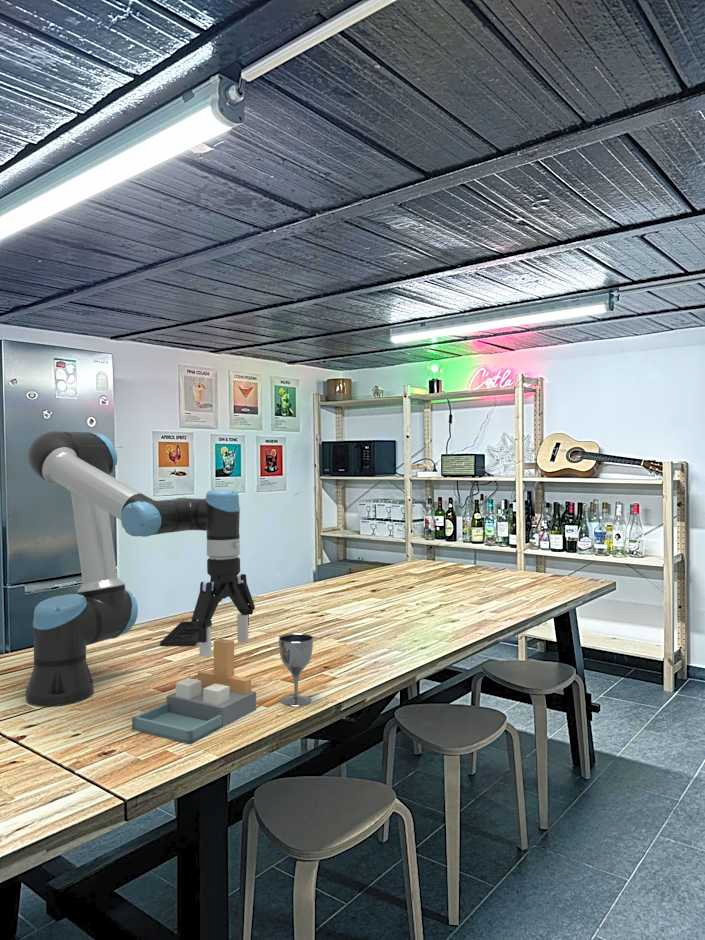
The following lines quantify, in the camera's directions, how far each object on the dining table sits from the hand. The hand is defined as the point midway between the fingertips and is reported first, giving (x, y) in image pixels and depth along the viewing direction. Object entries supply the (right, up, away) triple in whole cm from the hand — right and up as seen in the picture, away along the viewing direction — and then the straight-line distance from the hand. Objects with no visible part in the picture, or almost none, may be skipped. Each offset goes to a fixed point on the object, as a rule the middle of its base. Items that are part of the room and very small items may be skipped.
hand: (224, 648), depth 161 cm
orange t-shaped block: (0, -9, 0) cm, 9 cm away
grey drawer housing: (-2, -13, -4) cm, 14 cm away
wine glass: (+16, -13, +3) cm, 21 cm away
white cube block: (-7, -9, -4) cm, 13 cm away
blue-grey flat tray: (-8, -13, -13) cm, 20 cm away
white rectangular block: (0, -9, -8) cm, 12 cm away
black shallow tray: (-21, -13, +65) cm, 69 cm away
